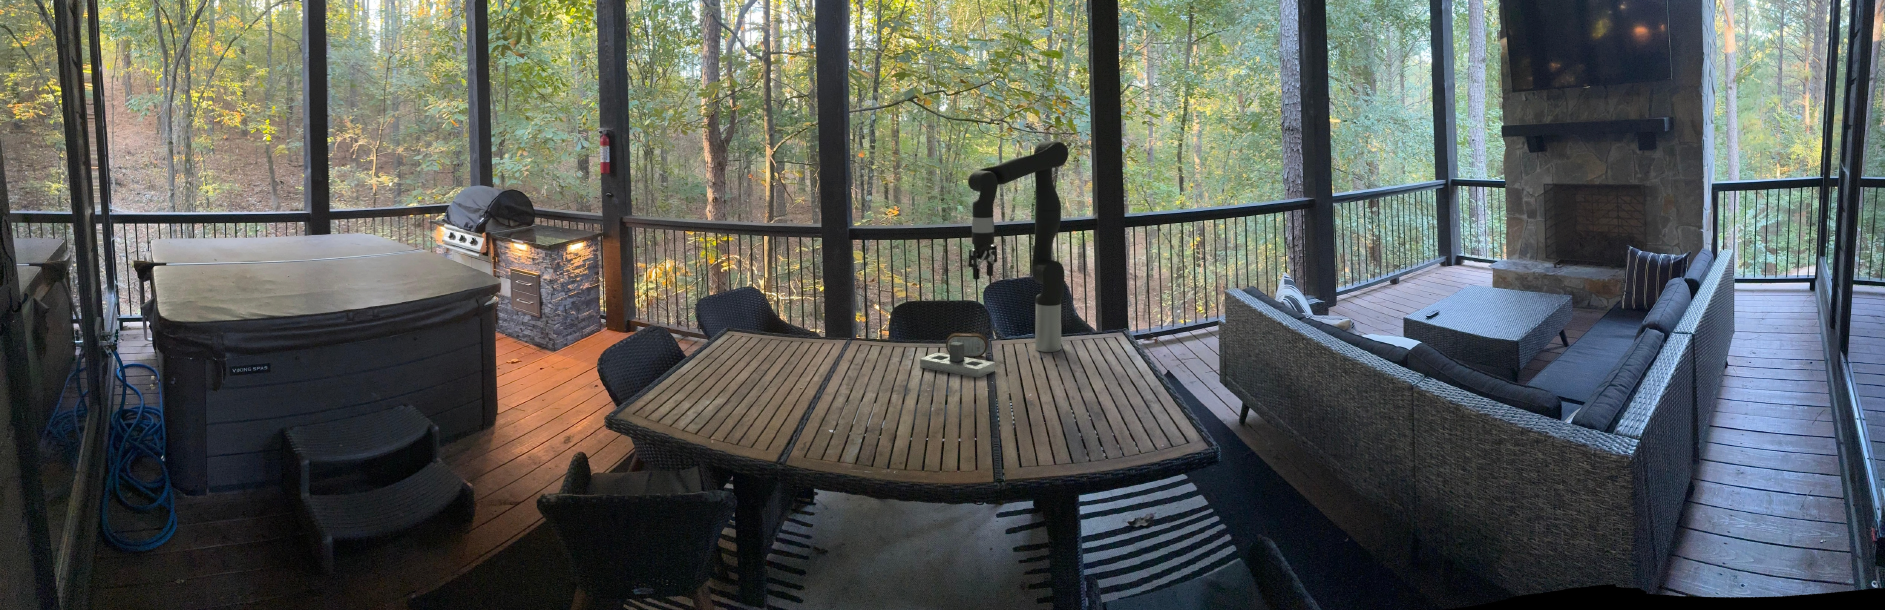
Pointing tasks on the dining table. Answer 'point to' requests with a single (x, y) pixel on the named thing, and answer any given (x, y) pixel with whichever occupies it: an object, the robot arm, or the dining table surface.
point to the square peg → (956, 352)
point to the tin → (969, 343)
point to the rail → (957, 365)
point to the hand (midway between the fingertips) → (983, 277)
